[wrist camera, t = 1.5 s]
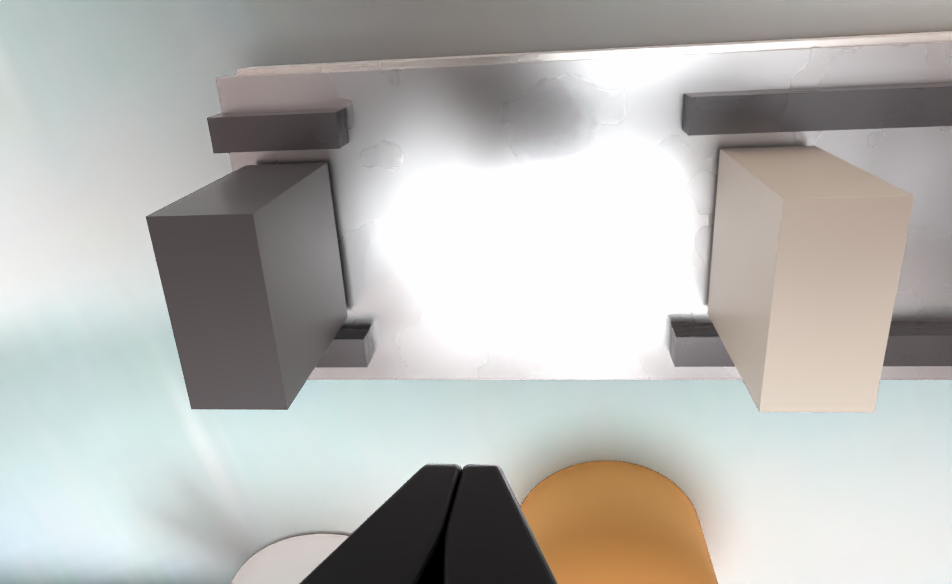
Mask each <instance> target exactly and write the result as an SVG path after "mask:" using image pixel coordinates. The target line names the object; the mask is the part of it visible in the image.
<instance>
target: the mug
mask: <svg viewBox="0 0 952 584" xmlns="http://www.w3.org/2000/svg"><path fill="white" fill-rule="evenodd" d="M348 537H349V536H345V535H337V534H310V535H302V536H296V537H292V538H288V539H284V540H281V541H279V542H276V543H274V544H271V545H269V546H267V547H265V548H264V549H262V550H260V551H259V552H257V553H256V554H255V555H253V556H252V557H251V558H250V559H249V560H248V561H247V562H245V564H244V565H243V566H242V567H241V568H240V569H239V571H238V572H237V574H236V575H235V577H234V578H233V580H232V582H231V584H299V583H300V582H301V581H302V580H303V579H304V578H305V577H307V576H308V575H309V574H310V573H311V572H312V571H313V570H314V569H315V568H316V567H317V566H318V565H319V564H320V563H321V562H322V561H323V560H325V559H326V558H327V557H328V556H329V555H330V554H331V553H332V552H333V551H334V550H335V549H336V548H337V547H338V546H339V545H340V544H341V543H343V542H344V541H345V540H346V539H347V538H348Z"/></svg>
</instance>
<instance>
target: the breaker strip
mask: <svg viewBox="0 0 952 584" xmlns="http://www.w3.org/2000/svg"><path fill="white" fill-rule="evenodd" d="M216 82H217V87H218V93H219V98H220V104H221V109H222V113H221V114H218V115H215V116H212V117H208V118H207V120H208V125H209V131H210V136H211V141H212V146H213V151H214V153H230V158H231V163H232V169H233V172H234V171H236V170H238V169H240V168H242V167H244V166H246V165H267V164H296V163H325V162H327V164H328V172H329V179H330V187H331V194H332V202H333V209H334V217H335V224H336V232H337V239H338V247H339V254H340V262H341V270H342V277H343V285H344V292H345V300H346V307H347V315H348V317H347V319H346V321H345V322H344V324H343V325H342V327H341V328H340V330H339V331H338V333H337V334H336V336H335V337H334V339H333V340H332V342H331V344H330V345H329V347H328V348H327V350H326V351H325V353H324V354H323V356H322V357H321V359H320V360H319V362H318V364H317V365H316V367H315V368H314V370H313V371H312V373H311V374H310V376H309V377H308V379H307V380H742V378H741V376H740V374H739V372H738V370H737V369H736V367H735V365H734V363H733V361H732V359H731V357H730V355H729V353H728V352H727V350H726V348H725V346H724V344H723V342H722V340H721V338H720V336H719V335H718V333H717V331H716V329H715V327H714V325H713V323H712V321H711V319H710V318H709V316H708V314H707V310H708V298H709V285H710V272H711V259H712V246H713V233H714V220H715V207H716V194H717V181H718V168H719V155H720V149H727V148H756V147H785V146H816V147H818V148H820V149H822V150H824V151H826V152H828V153H830V154H832V155H834V156H836V157H838V158H840V159H842V160H844V161H846V162H848V163H850V164H852V165H854V166H856V167H858V168H860V169H862V170H864V171H866V172H868V173H870V174H872V175H874V176H876V177H878V178H880V179H882V180H884V181H886V182H888V183H890V184H892V185H893V186H895V187H897V188H899V189H901V190H903V191H905V192H907V193H909V194H911V195H913V196H914V200H913V206H912V211H911V217H910V222H909V227H908V233H907V238H906V244H905V249H904V254H903V260H902V265H901V271H900V276H899V281H898V287H897V292H896V297H895V303H894V308H893V314H892V319H891V324H890V330H889V335H888V341H887V346H886V351H885V357H884V362H883V368H882V373H881V378H880V380H952V31H943V32H923V33H903V34H883V35H864V36H844V37H824V38H805V39H785V40H765V41H745V42H726V43H706V44H686V45H667V46H647V47H627V48H607V49H588V50H568V51H548V52H529V53H509V54H489V55H469V56H450V57H430V58H410V59H390V60H371V61H351V62H331V63H312V64H292V65H272V66H253V67H247V68H242V69H237V74H234V75H229V76H224V77H219V78H216Z"/></svg>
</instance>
